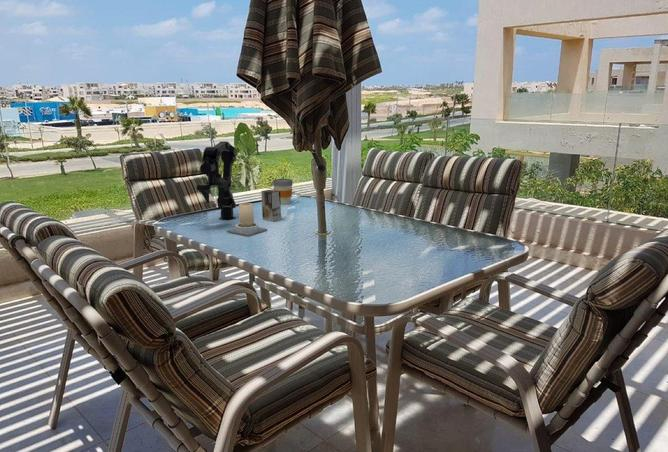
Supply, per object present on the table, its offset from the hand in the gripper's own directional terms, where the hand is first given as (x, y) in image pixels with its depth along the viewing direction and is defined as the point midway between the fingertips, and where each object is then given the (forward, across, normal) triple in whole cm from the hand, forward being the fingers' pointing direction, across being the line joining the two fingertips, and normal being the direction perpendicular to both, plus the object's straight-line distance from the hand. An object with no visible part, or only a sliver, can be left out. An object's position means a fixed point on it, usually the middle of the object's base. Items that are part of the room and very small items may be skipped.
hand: (214, 201), depth 259 cm
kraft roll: (+12, +1, -21) cm, 24 cm away
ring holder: (+13, +1, -21) cm, 25 cm away
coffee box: (+13, +28, -14) cm, 34 cm away
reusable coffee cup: (+13, +66, +9) cm, 68 cm away
